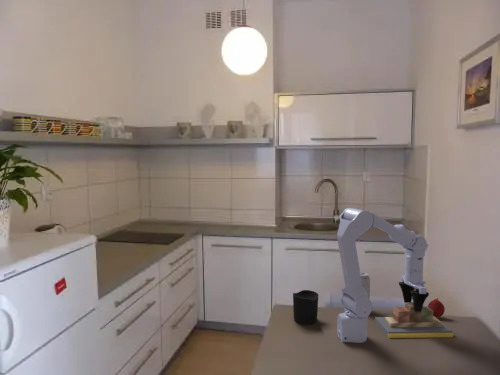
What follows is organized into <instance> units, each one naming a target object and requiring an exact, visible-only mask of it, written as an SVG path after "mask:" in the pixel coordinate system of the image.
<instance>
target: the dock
mask: <svg viewBox="0 0 500 375" xmlns="http://www.w3.org/2000/svg"><path fill="white" fill-rule="evenodd" d="M385 317H386V316H374V323H375V324H376V325H377V326H378V328H380V330H381V331H382V332H383V333H384V334H385V336H386V337H387V338H388V339H403V338H404V339H411V338H412V339H414V338H418V339H419V338H421V339H422V338H454V332H453V330H452V329H451V328H449V327H448V326H447V325H445V324H444V323H443V322H442V327H390V326H389V325H388V324H387V323H386V322H385Z"/></svg>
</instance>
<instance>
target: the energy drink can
mask: <svg viewBox="0 0 500 375" xmlns="http://www.w3.org/2000/svg"><path fill="white" fill-rule="evenodd" d="M360 274H361V280H362V286H363V288H364V289H365V291H366V292H367V294H368V298H369V300H370V301H371V298H370V296H371V294H370V293H371V290H370V289H371V278H370V276H369V273H367V272H362V271H360Z"/></svg>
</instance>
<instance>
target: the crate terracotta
mask: <svg viewBox="0 0 500 375" xmlns="http://www.w3.org/2000/svg"><path fill="white" fill-rule="evenodd" d="M392 308H393V309H392V317H393V319H395V320H396V321H397V322H398V323H409V318H410V311H409V310H408V309H406V308H405V306H393V307H392Z"/></svg>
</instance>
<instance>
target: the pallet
mask: <svg viewBox="0 0 500 375" xmlns="http://www.w3.org/2000/svg"><path fill="white" fill-rule="evenodd" d="M404 305H405V306H404V307H405V308H406V309H408V310H409V311H410V318H409V323H398V322H397V321H396V320H395V319H393V316H384V317H385V322H386V323H387V324H388V325H389V326H390V327H442V323H443V321H440V319H439V318H436V317H434V316H433V322H421V317H422V310H421V312H415V311H414V306H413V301H411V302H404Z"/></svg>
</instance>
